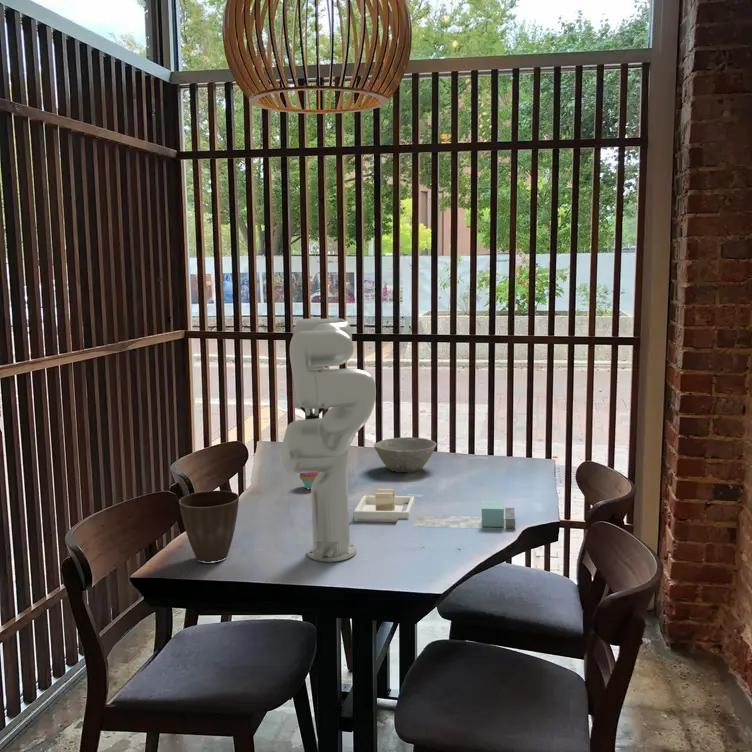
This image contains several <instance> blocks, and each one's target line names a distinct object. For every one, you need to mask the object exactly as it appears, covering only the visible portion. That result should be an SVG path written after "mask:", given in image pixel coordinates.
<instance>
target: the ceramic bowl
mask: <svg viewBox="0 0 752 752" xmlns="http://www.w3.org/2000/svg"><path fill="white" fill-rule="evenodd" d="M436 447H437V442H436V441H434V440H432V439H428V438H422V437H421V438H420V437H395V438H393V437H392V438H386V439H383V440H380V441H378V442H376V443H374V444H373V448H374V449H375V451H376V454H377V455H378V457H379V458H380V459H381V461H382V463H383V464H384V466H385V467H386V468H387V469H388V470H390V471H392V472H394V471H397V472H396V473H402V472H408V473H411V472H412V473H416V472H418V471H420V470H421V469H423V468H424V467H425V465H426V464H427V463H428V462H429V460H430V458H431V457H432V455H433V454H434V453H433V452H434V451H435V449H436Z"/></svg>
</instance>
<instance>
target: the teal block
mask: <svg viewBox="0 0 752 752" xmlns="http://www.w3.org/2000/svg"><path fill="white" fill-rule="evenodd" d="M481 502H482V503H481V517H482V526H490V527H504V517H505V509H504V508H505V507H504V506H505V504H504V503H505V501H504V500H491V499H490V500H487V499H486V500H484V499H482V500H481Z"/></svg>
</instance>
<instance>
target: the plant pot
mask: <svg viewBox="0 0 752 752" xmlns="http://www.w3.org/2000/svg"><path fill="white" fill-rule="evenodd" d="M239 500H240V495H239V494H238V493H236V492H233V491H230V490H229V491H228V490H206V491H198V492H194V493H190V494H186V495H185V496H183V497H181V498H179V500H178V503H179V511H180V514H181V519H182V522H183V526H184V529H185V533H186V537H187V540H188V541H189V545H190V547H191V549H192V552H193V555H194V556H195V558H196V560H197V561H198V560H199V561H205V562H211V561H218V560H222V559H224V558H226V557H227V558H228V555H229V552H230V550H231V545H232V542H233V539H234V538H233V537H234V533H235V529H236V523H237V518H238V512H239V511H238V510H239ZM227 558H226V559H227Z"/></svg>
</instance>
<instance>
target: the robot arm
mask: <svg viewBox="0 0 752 752" xmlns="http://www.w3.org/2000/svg"><path fill="white" fill-rule="evenodd" d="M292 331H293V332H292V337H291V340H290V343H289V360H290V365H291V366H290V367H291V372H292V379H293V408H294V409H297V410H302V412H303V413H305V415H306V417H307V419H298V420H294V421H292V422H290V423H289V424H288V425H287V427H286V429H285V433H284V436H283V439H282V442H281V447H280V462H281V464H282V465H281V466H282V467H283V469H284V470H285V471H286V472H287V473H290V474H300V473H307V472H319V474H318V475H317V477H316V478H315V480H314V481H313V484H312V487H311V490H310V501H311V503H310V505H311V527H312V545H310V546H309V547H308V548H307V556H308V558H309V559H312V560H314V561H316V562H317V561H318V562H327V563H331V562H333V563H335V562H340V561H346V560H349V559H350V558H352V557H354V556H355V555H356V554H357V547H356V545H354V543H351V534H350V533H351V531H350V508H349V506H350V505H349V504H350V503H349V481H348V480H349V466H350V465H349V464H350V459H351V458H350V457H351V444H352V442H353V441H354V438H355V437H356V435H357V433H358V431H360V430H361V429H362V427H364V425H366V423H367V421H368V420H369V419H370V417H371V415H372V413H373V410H374V407H375V402H376V398H377V397H376V396H377V388H376V383H375V379H374V378H373V376H372V374H370V373H369V372H367V371H365V370H362V369H357V368H334V369H333V368H332V369H329V367H334V366H335V367H336V366H341V365H344V364H345V363H347V362H348V361H349V360H351V358H352V356H353V354H354V350H355V349H354V348H355V346H354V345H355V344H354V342H353V331H352V328H351V324H350V323H349V322H348V320H346V319H344V318H339V317H338V318H337V317H335V318H300V319H298V320H297V321H296V324H295V326H294V327H293V330H292ZM327 409H328V410H327ZM313 410H314V412H313ZM324 410H327V411H326V412H325V414H324V415H323V416H322V417H321V418H320V414H321V413H322V412H323V411H324Z"/></svg>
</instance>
